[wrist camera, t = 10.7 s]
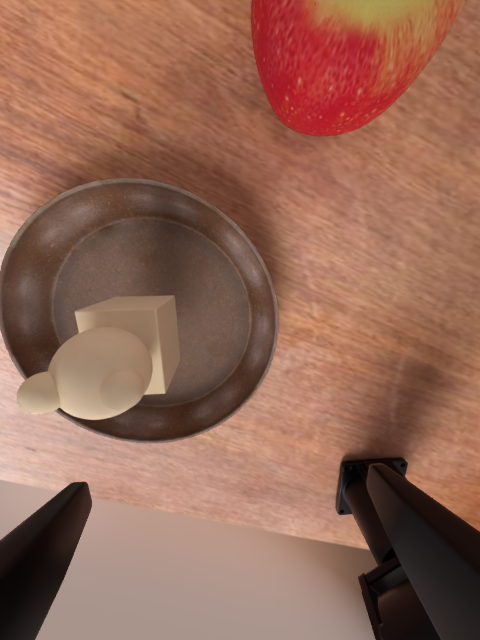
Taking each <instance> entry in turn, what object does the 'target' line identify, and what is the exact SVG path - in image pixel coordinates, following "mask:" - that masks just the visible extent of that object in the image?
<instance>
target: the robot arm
mask: <svg viewBox="0 0 480 640" xmlns="http://www.w3.org/2000/svg"><path fill="white" fill-rule="evenodd" d="M407 465H408V463H407V462H406V461H405V459H404V458H386V459H370V460H355V461H344V462H343V463H342V464H341V469H340V477H339V485H338V492H337V500H336V511H337V513H338V514H339V515H347V514H353V516H354V518H355V520H356V522H357V524H358V526H359V528H360V530H361V532H362V534H363V536H364V538H365V540H366V542H367V544H368V546H369V548H370V550H371V552H372V554H373V556H374V558H375V560H376V562H377V564H378V566H377V567H376V568H374V569H373V570H371V571H369V572H368V573H366V574H364V573H363V574H361V575H360V576H358V579H359V582H360V586H361V589H362V595H363V598H364V602H365V605H366V608H367V612H368V615H369V619H370V622H371V625H372V629H373V632H374V635H375V639H376V640H480V532H479V531H478V530H477V529H475V528H474V527H472V526H471V525H469V524H468V523H467V522H465V521H464V520H462V519H461V518H460V517H458V516H457V515H455V514H454V513H453V512H451V511H450V510H448V509H447V508H446V507H444V506H443V505H441V504H440V503H438V502H437V501H436V500H434V499H433V498H431V497H430V496H429V495H427V494H426V493H424V492H423V491H422V490H420V489H419V488H417V487H416V486H415V485H413V484H412V483H410V482H409V481H408V480H407V479H406V478H405V474H406V470H407ZM91 507H92V499H91V495H90V491H89V487H88V484H87V483H86V482H74V483H71V484H70V485H68V486H67V487H66V488H64V489H63V490H62V491H61V492H59V493H58V494H57V495H56V496H55V497H53V498H52V499H51V500H50V501H48V502H47V503H46V504H45V505H44V506H42V507H41V508H40V509H38V510H37V511H36V512H35V513H33V514H32V515H31V516H30V517H28V518H27V519H26V520H25V521H23V522H22V523H21V524H20V525H19V526H17V527H16V528H15V529H14V530H12V531H11V532H10V533H9V534H7V535H6V536H5V537H4V538H2V539H1V540H0V640H35V639H36V637H37V635H38V633H39V630H40V628H41V626H42V624H43V622H44V620H45V618H46V615H47V614H48V611H49V609H50V607H51V605H52V603H53V601H54V599H55V597H56V595H57V593H58V590H59V588H60V586H61V584H62V581H63V579H64V577H65V575H66V572H67V570H68V567H69V565H70V562H71V560H72V557H73V555H74V552H75V549H76V547H77V544H78V542H79V539H80V537H81V534H82V531H83V529H84V526H85V524H86V521H87V519H88V516H89V513H90V511H91Z"/></svg>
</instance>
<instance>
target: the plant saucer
mask: <svg viewBox="0 0 480 640" xmlns="http://www.w3.org/2000/svg"><path fill="white" fill-rule="evenodd" d="M169 295H174V296H175V304H176V315H177V326H178V337H179V348H180V359H181V360H180V362H179V364H178V366H177V369H176V371H175V373H174V375H173V378H172V380H171V382H170V384H169V387H168V389H167V391H166V393H165V394H145V395H143V396H142V398H141V399H140V401H139V402H138V403H137V404H136V405H134V406H133V407H131V408H129V409H128V410H126V411H125V412H123V413H122V414H120V415H119V416H116V417H110V418H106V419H99V420H89V419H82V418H78V417H75V416H72V415H70V414H68V413H67V412H65V411H64V410H62V409H61V408H58V409H57V410H55V411H56V412H57V413H58V414H60V415H61V416H63V417H64V418H66V419H67V420H69V421H71V422H72V423H74V424H76V425H78V426H80V427H82V428H84V429H87V430H89V431H91V432H93V433H96V434H99V435H102V436H105V437H108V438H112V439H116V440H121V441H127V442H135V443H145V444H146V443H167V442H174V441H178V440H183V439H187V438H191V437H194V436H196V435H199V434H202V433H204V432H207V431H209V430H211V429H213V428H215V427H216V426H218V425H220V424H222V423H223V422H225V421H226V420H228V419H229V418H230V417H232V416H233V415H234V414H236V413H237V412H238V411H239V410H240V409H241V408H242V407H243V406H244V405H245V404H246V403H247V402H248V401H249V400H250V399H251V398H252V396H253V395H254V394H255V392H256V391H257V390H258V388H259V387H260V385H261V383H262V382H263V380H264V378H265V376H266V374H267V372H268V370H269V368H270V365H271V362H272V359H273V356H274V353H275V349H276V344H277V338H278V327H279V314H278V304H277V298H276V293H275V290H274V286H273V283H272V280H271V277H270V274H269V272H268V269H267V267H266V265H265V263H264V261H263V259H262V257H261V256H260V254H259V252H258V251H257V249H256V248H255V246H254V245H253V243H252V242H251V241H250V239H249V238H248V237H247V236H246V234H245V233H244V232H243V231H242V230H241V229H240V227H239V226H238V225H237V224H236V223H235V222H234V221H232V220H231V219H230V218H229V217H228V216H227V215H226V214H224V213H223V212H222V211H221V210H220V209H218V208H217V207H215V206H214V205H212V204H211V203H209V202H207V201H206V200H204V199H202V198H200V197H199V196H197V195H195V194H193V193H191V192H188V191H186V190H184V189H181V188H179V187H176V186H173V185H169V184H166V183H162V182H158V181H153V180H147V179H137V178H114V179H105V180H99V181H94V182H90V183H86V184H83V185H80V186H77V187H75V188H72V189H70V190H68V191H66V192H63V193H61V194H59V195H58V196H56V197H55V198H53V199H52V200H50V201H48V202H47V203H45V204H44V205H43V206H41V207H40V208H39V209H38V210H37V211H36V212H34V213H33V214H32V215H31V216H30V217H29V218H28V219H27V220H26V221H25V223H24V224H23V225H22V226H21V228H20V229H19V230H18V232H17V233H16V235H15V236H14V238H13V240H12V241H11V243H10V246H9V248H8V249H7V251H6V254H5V256H4V259H3V262H2V265H1V270H0V330H1V333H2V336H3V340H4V343H5V346H6V349H7V350H8V352H9V355H10V357H11V359H12V361H13V363H14V365H15V366H16V368H17V370H18V371H19V373H20V374H21V375H22V377H23V378H24V380H27V379H28V378H29V377H31V376H33V375H35V374H38V373H41V372H48V368H49V365H50V362H51V360H52V358H53V356H54V355H55V353H56V352H57V350H58V349H59V348H60V347H61V346H62V345H63V344H64V343H65V342H66V341H67V340H69V339H70V338H72V337H73V336H75V335H77V334H79V330H78V326H77V321H76V316H75V311H77V310H79V309H82V308H85V307H88V306H91V305H94V304H97V303H100V302H103V301H106V300H108V299H111V298H114V297H127V296H169Z"/></svg>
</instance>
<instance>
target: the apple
mask: <svg viewBox="0 0 480 640" xmlns="http://www.w3.org/2000/svg"><path fill="white" fill-rule="evenodd" d="M465 1H466V0H252V4H251V27H252V39H253V48H254V54H255V59H256V64H257V68H258V72H259V76H260V79H261V82H262V85H263V88H264V91H265V93H266V96H267V98H268V100H269V102H270V104H271V106H272V108H273V110H274V112H275V113H276V115H277V116H278V118H279V119H280V120H281V121H282V122H283V123H284V124H285V125H286V126H287V127H289V128H291V129H292V130H294V131H297V132H299V133H303V134H307V135H313V136H333V135H339V134H344V133H347V132H350V131H353V130H356V129H358V128H360V127H362V126H363V125H365V124H367V123H369V122H370V121H372V120H373V119H375V118H376V117H377V116H379V115H380V114H381V113H383V112H384V111H385V110H386V109H387V108H388V107H390V106H391V105H392V104H393V103H394V102H395V101H396V100H397V99H398V98H399V97H400V96H401V95H402V94H403V93H404V92H405V91H406V90H407V89H408V87H409V86H410V85H411V84H412V83H413V81H414V80H415V79H416V78H417V76H418V75H419V74H420V73H421V71H422V70H423V69H424V68H425V66H426V65H427V64H428V62H429V61H430V60H431V58H432V57H433V56H434V54H435V52H436V51H437V49H438V48H439V46H440V45H441V43H442V42H443V40H444V39H445V37H446V36H447V34H448V33H449V31H450V29H451V28H452V26H453V24H454V22H455V21H456V19H457V17H458V15H459V13H460V11H461V9H462V7H463V5H464V3H465Z"/></svg>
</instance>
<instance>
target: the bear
mask: <svg viewBox="0 0 480 640" xmlns="http://www.w3.org/2000/svg"><path fill="white" fill-rule="evenodd" d="M75 316H76V321H77V326H78V330H79V334H77V335H75V336H73V337H72V338H70V339H69V340H67V341H66V342H65V343H64V344H63V345H62V346H61V347H60V348H59V349H58V350H57V352H56V353H55V355H54V356H53V358H52V360H51V362H50V365H49V368H48V372H41V373H38V374H35V375H33V376H31V377H29V378H28V379H27V380H25V381H24V382H23V383H22V385H21V386H20V388H19V390H18V392H17V402H18V404H19V406H20V407H21V409H23V410H24V411H26V412H28V413H30V414H37V415H40V414H47V413H50V412H53V411H55V410H57V409H58V408H61V409H62V410H64V411H65V412H67V413H68V414H70V415H72V416H75V417H78V418H82V419H89V420H99V419H106V418H110V417H116V416H119V415H120V414H122V413H123V412H125V411H126V410H128V409H129V408H131V407H133V406H134V405H136V404H137V403H138V402H139V401H140V399H141V398H142V396H143V395H145V394H165V393H166V391H167V389H168V387H169V384H170V382H171V380H172V378H173V375H174V373H175V371H176V369H177V366H178V364H179V362H180V360H181V359H180V348H179V337H178V326H177V315H176V304H175V296H174V295H169V296H127V297H114V298H111V299H108V300H106V301H103V302H100V303H97V304H94V305H91V306H88V307H85V308H82V309H79V310H77V311H75Z"/></svg>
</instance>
